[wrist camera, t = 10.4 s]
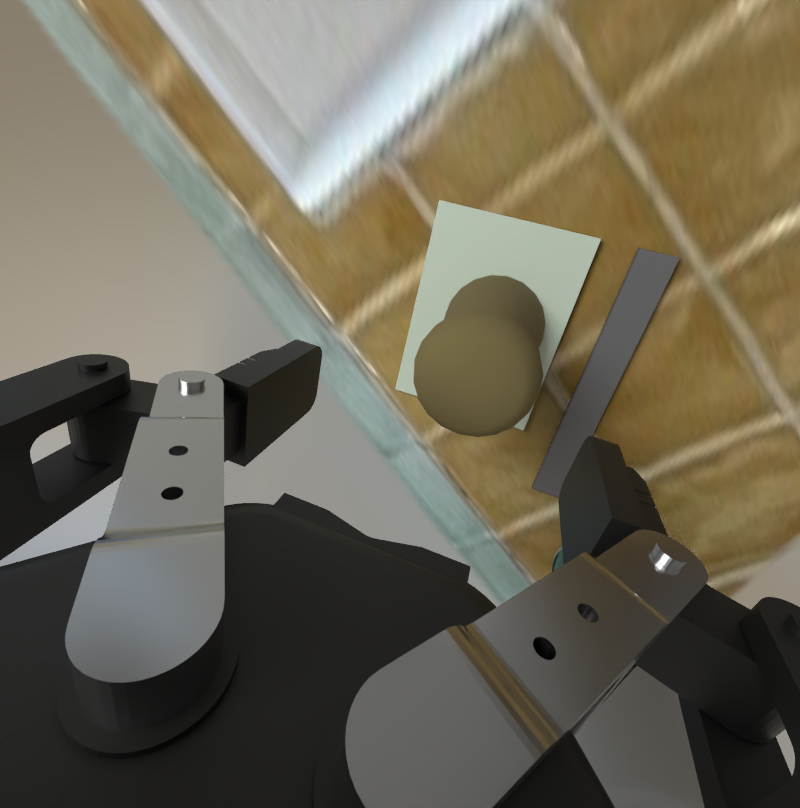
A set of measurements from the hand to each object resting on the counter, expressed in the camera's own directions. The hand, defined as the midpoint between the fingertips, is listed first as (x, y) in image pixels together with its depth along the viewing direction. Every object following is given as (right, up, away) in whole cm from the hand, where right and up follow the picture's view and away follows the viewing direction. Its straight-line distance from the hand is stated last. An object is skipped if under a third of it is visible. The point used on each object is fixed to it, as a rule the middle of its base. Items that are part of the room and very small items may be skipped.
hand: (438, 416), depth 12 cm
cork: (+5, +5, +13) cm, 15 cm away
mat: (+4, +5, +13) cm, 15 cm away
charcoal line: (+11, +1, +13) cm, 17 cm away
